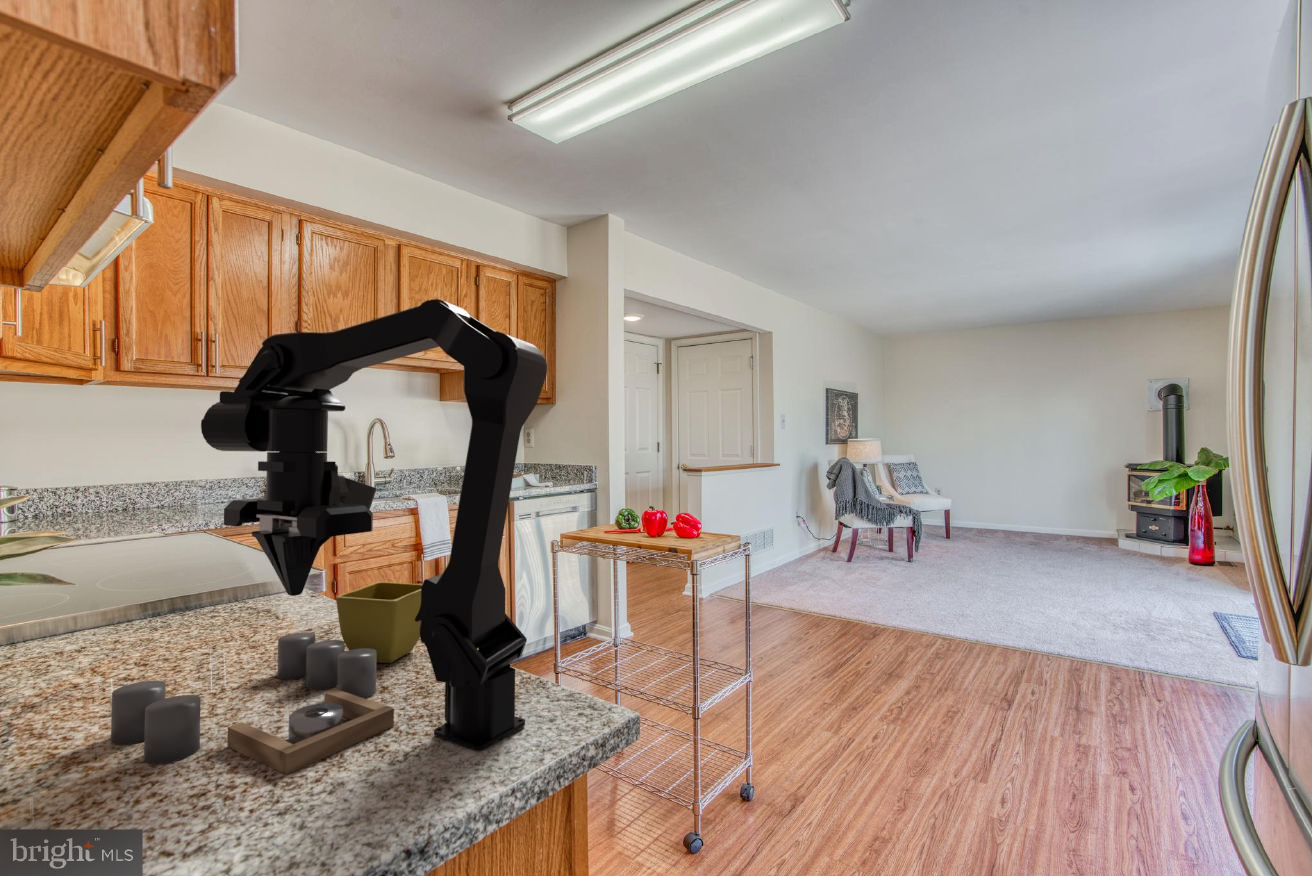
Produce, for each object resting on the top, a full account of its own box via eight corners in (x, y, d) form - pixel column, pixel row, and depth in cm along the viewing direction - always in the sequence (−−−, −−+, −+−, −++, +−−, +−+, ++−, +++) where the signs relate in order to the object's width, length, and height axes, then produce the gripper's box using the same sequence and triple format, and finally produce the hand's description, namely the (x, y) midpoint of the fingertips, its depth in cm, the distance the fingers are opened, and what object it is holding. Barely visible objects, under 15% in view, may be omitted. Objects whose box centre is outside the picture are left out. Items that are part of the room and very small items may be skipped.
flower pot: (393, 671, 77) (394, 599, 77) (332, 665, 78) (333, 595, 78) (432, 649, 85) (433, 584, 85) (377, 644, 87) (378, 581, 87)
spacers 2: (383, 691, 70) (384, 651, 70) (351, 703, 67) (352, 662, 67) (303, 665, 78) (303, 630, 78) (270, 675, 75) (271, 638, 75)
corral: (393, 726, 61) (393, 708, 61) (286, 774, 52) (287, 753, 52) (334, 705, 66) (335, 688, 66) (227, 746, 57) (227, 726, 57)
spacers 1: (208, 749, 56) (209, 700, 57) (156, 768, 53) (157, 716, 53) (153, 721, 62) (154, 677, 62) (103, 738, 58) (104, 691, 59)
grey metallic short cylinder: (352, 733, 60) (353, 707, 60) (308, 754, 56) (309, 726, 56) (321, 724, 62) (322, 699, 62) (277, 743, 58) (277, 716, 58)
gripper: (416, 453, 69) (414, 590, 69) (318, 451, 78) (316, 572, 78) (321, 453, 59) (317, 613, 59) (222, 451, 69) (219, 589, 68)
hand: (294, 594), depth 66 cm, fingers closed
